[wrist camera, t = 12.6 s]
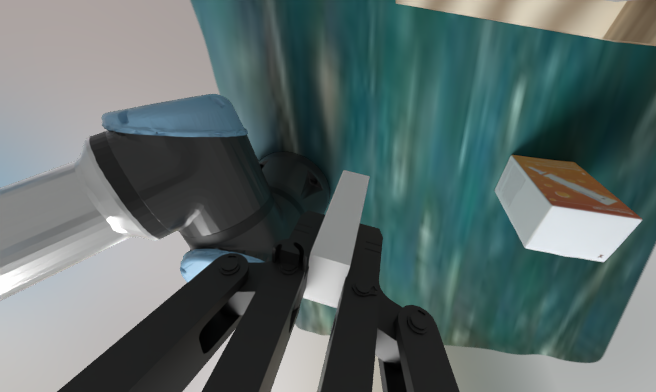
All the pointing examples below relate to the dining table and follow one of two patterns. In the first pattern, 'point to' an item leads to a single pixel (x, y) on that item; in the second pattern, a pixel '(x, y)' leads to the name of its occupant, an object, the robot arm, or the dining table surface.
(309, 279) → the robot arm
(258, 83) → the dining table surface
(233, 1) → the dining table surface
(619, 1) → the carriage
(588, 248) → the small box
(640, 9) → the jig
